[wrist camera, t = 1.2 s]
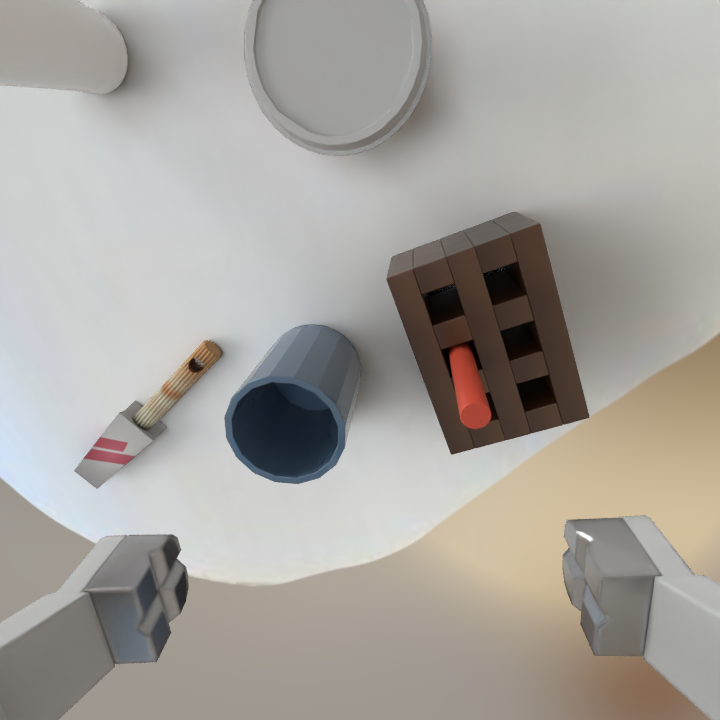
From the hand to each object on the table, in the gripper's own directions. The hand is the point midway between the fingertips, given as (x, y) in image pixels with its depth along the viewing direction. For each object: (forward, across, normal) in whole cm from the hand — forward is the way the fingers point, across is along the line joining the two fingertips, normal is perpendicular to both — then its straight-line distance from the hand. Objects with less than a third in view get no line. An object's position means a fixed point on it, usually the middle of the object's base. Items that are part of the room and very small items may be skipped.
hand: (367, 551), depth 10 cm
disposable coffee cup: (+31, +1, -14) cm, 34 cm away
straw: (+31, -5, +4) cm, 32 cm away
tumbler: (+32, +7, +8) cm, 33 cm away
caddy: (+31, -7, +4) cm, 32 cm away
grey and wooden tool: (+33, +23, +11) cm, 41 cm away
